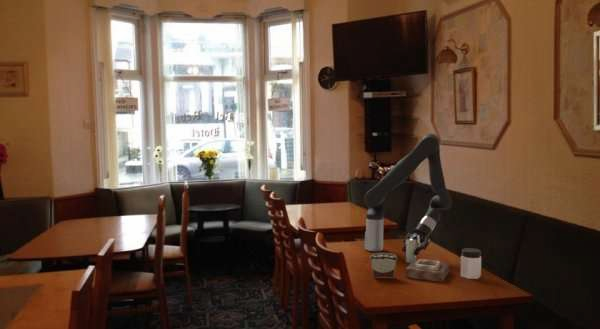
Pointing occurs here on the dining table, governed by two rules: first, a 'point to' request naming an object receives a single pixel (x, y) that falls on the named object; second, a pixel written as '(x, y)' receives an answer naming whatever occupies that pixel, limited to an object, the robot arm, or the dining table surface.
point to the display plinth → (427, 270)
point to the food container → (383, 265)
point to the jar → (471, 263)
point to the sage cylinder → (410, 250)
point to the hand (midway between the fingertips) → (409, 253)
